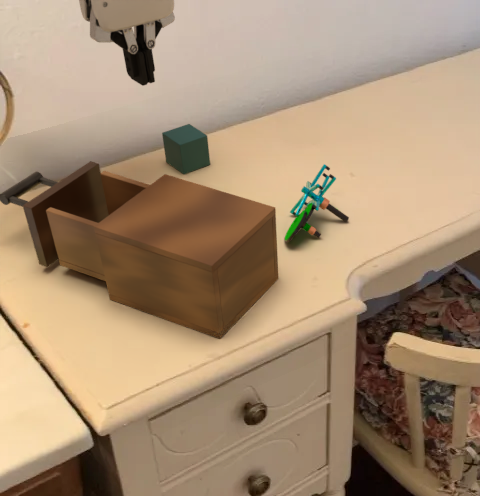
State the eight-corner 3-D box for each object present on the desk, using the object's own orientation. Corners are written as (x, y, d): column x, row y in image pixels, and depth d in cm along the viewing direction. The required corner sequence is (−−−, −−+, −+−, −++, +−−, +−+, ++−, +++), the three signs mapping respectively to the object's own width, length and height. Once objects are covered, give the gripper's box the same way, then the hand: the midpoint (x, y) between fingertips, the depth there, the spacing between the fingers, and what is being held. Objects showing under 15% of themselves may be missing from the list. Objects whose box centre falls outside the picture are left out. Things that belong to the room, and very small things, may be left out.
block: (183, 174, 114) (179, 144, 111) (166, 162, 117) (161, 132, 114) (210, 164, 117) (207, 135, 114) (192, 152, 119) (189, 123, 116)
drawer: (-6, 248, 98) (-25, 189, 93) (59, 203, 106) (45, 147, 101) (135, 298, 93) (123, 239, 87) (193, 247, 100) (186, 190, 95)
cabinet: (109, 299, 94) (93, 226, 87) (175, 244, 102) (164, 173, 96) (220, 339, 90) (211, 265, 83) (278, 278, 98) (275, 207, 92)
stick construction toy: (299, 180, 110) (327, 150, 104) (342, 210, 113) (372, 183, 106) (266, 247, 105) (293, 220, 98) (312, 278, 107) (341, 253, 101)
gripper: (154, -105, 96) (176, 55, 109) (32, -82, 88) (72, 87, 101) (192, -90, 92) (210, 74, 105) (68, -65, 84) (104, 108, 97)
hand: (142, 80), depth 103 cm, fingers closed
